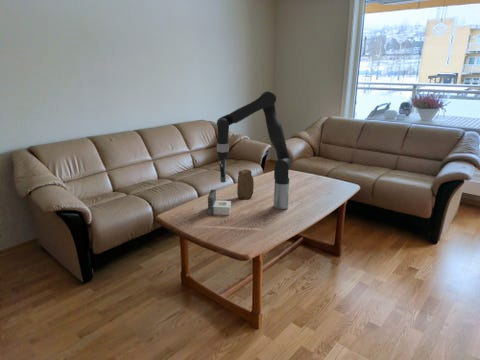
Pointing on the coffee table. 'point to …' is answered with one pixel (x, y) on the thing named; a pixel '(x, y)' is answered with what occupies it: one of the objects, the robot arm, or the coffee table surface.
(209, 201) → the jig
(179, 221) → the coffee table surface
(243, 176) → the brown rounded block
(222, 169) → the dowel
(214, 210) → the socket
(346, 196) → the coffee table surface
